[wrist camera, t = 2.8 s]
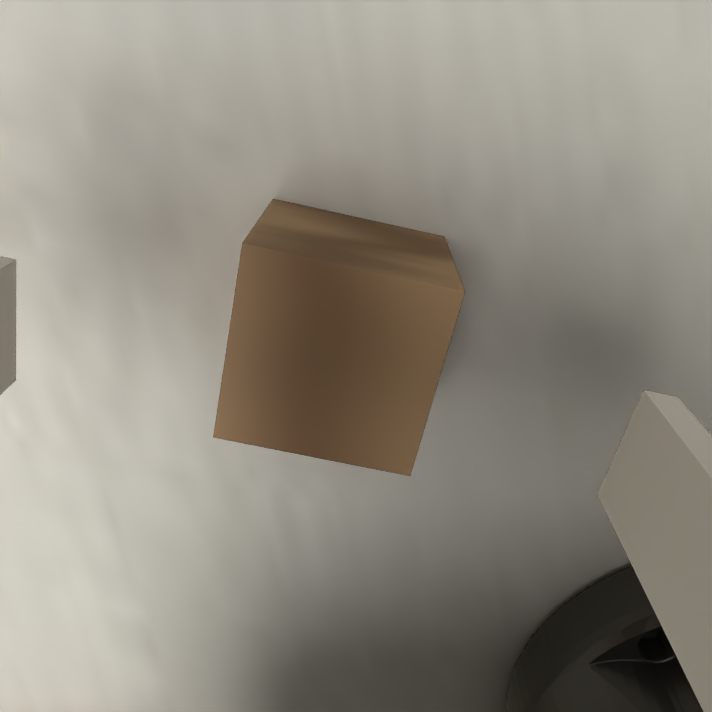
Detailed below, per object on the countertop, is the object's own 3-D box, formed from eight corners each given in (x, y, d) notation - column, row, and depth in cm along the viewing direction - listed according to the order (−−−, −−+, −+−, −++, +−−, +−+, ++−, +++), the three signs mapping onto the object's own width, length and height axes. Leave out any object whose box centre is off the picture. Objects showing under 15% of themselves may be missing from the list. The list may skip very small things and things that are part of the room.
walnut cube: (443, 235, 20) (464, 291, 15) (402, 387, 22) (410, 476, 17) (273, 198, 19) (242, 243, 15) (247, 355, 21) (213, 437, 17)
